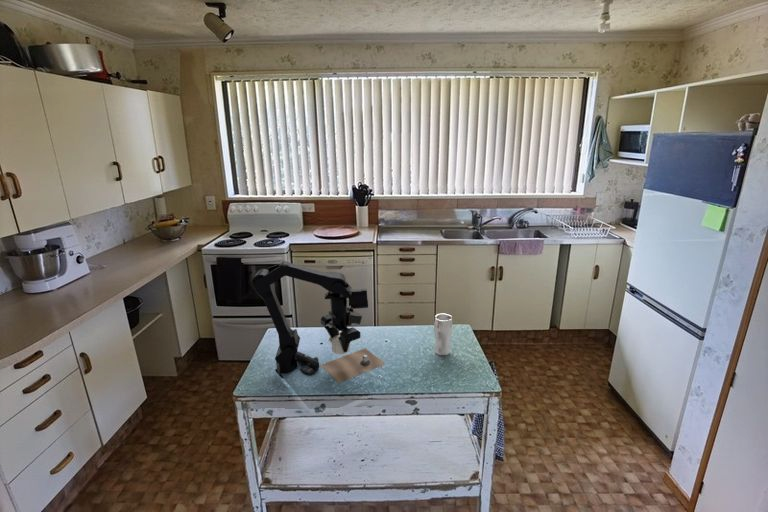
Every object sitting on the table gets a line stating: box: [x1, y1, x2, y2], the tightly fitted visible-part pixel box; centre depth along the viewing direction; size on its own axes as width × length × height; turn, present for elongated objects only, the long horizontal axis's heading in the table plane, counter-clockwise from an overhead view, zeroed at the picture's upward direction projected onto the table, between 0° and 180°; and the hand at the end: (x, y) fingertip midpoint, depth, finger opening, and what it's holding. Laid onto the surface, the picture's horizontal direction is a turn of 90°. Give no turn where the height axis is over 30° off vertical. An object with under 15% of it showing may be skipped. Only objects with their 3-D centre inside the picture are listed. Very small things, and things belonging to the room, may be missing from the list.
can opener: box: [295, 350, 320, 376], centre depth 145 cm, size 18×7×6 cm, turn 44°
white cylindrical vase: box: [433, 313, 453, 357], centre depth 152 cm, size 7×7×15 cm
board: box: [320, 348, 387, 384], centre depth 145 cm, size 20×14×1 cm
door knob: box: [360, 355, 370, 366], centre depth 145 cm, size 4×4×4 cm
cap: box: [331, 335, 351, 355], centre depth 141 cm, size 6×6×4 cm
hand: (340, 348), depth 142 cm, fingers closed on cap, 6 cm apart
